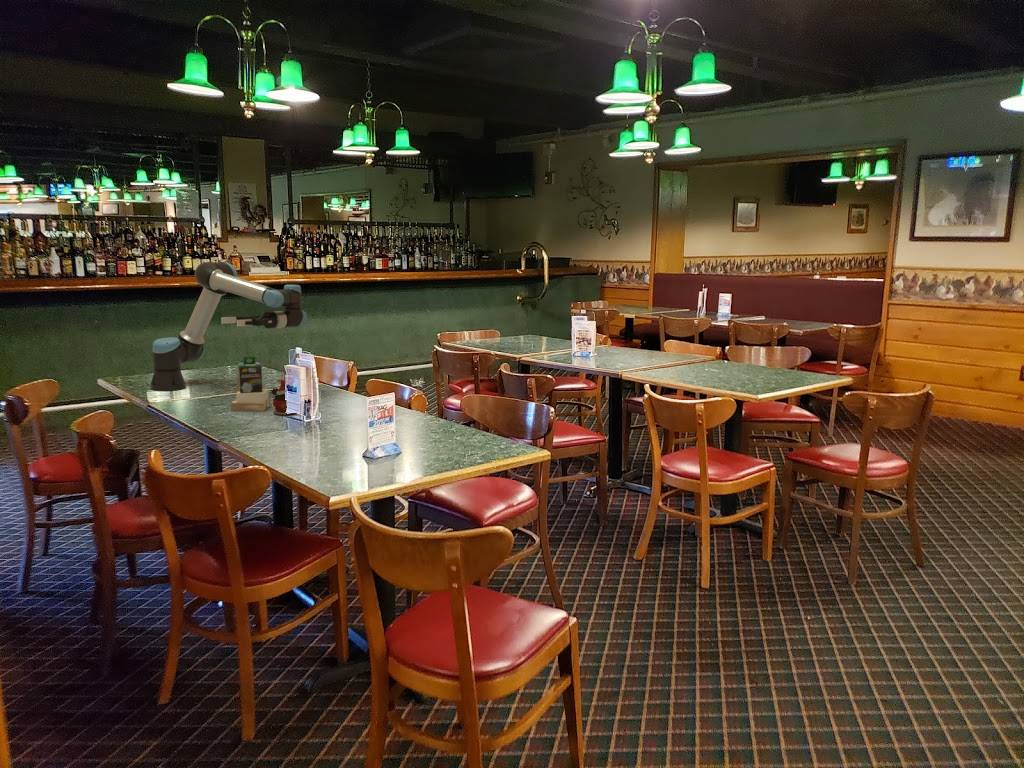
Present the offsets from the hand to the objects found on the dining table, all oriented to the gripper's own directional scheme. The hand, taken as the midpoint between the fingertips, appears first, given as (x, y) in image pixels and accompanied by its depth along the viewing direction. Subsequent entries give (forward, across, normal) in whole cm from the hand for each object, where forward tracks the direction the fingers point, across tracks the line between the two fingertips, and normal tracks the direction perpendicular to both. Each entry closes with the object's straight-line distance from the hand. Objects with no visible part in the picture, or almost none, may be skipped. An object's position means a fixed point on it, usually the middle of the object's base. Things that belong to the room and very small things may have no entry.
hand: (229, 321), depth 319 cm
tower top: (0, -17, -32) cm, 36 cm away
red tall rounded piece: (-5, -35, -35) cm, 50 cm away
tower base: (0, -17, -36) cm, 40 cm away
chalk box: (0, -17, -28) cm, 33 cm away
